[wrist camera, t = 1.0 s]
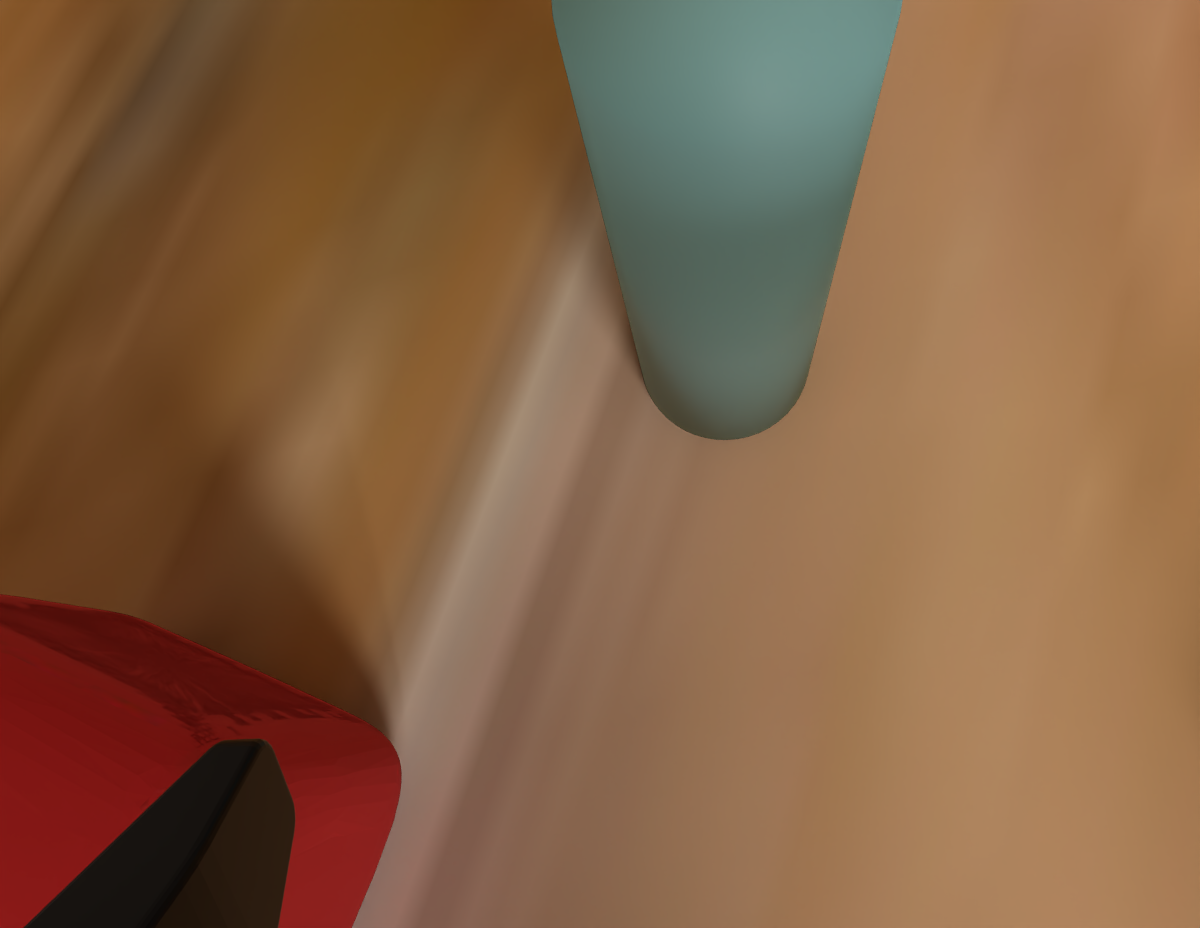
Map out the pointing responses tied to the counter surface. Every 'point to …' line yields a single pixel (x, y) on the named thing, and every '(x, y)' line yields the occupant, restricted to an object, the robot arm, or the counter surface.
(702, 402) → the peg
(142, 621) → the decorative item
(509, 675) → the counter surface
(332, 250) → the counter surface
